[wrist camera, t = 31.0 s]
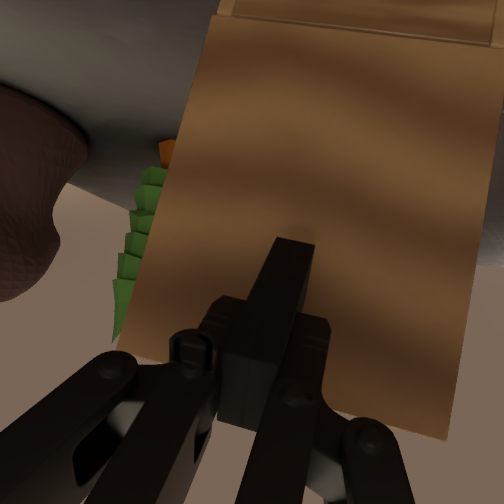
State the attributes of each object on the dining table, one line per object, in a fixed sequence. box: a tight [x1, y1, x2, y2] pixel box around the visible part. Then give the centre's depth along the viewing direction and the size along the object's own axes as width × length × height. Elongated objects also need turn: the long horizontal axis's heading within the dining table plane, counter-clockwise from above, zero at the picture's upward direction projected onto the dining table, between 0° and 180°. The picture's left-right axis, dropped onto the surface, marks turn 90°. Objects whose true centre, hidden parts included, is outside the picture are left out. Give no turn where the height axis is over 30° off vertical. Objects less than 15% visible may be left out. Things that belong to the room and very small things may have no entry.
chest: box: [217, 0, 504, 49], centre depth 30 cm, size 16×14×12 cm
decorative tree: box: [112, 139, 176, 343], centre depth 65 cm, size 10×9×30 cm
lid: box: [116, 15, 504, 442], centre depth 19 cm, size 16×14×1 cm
